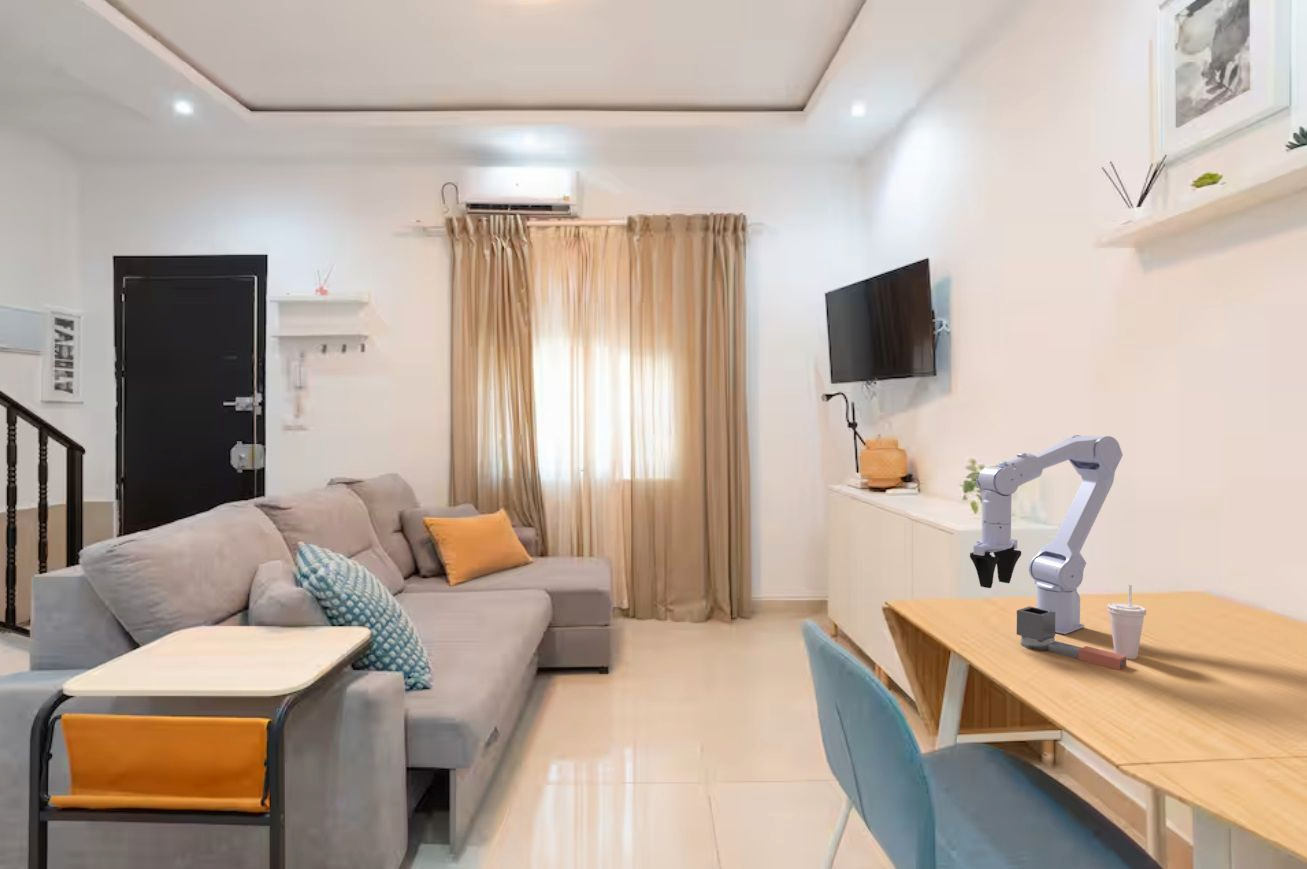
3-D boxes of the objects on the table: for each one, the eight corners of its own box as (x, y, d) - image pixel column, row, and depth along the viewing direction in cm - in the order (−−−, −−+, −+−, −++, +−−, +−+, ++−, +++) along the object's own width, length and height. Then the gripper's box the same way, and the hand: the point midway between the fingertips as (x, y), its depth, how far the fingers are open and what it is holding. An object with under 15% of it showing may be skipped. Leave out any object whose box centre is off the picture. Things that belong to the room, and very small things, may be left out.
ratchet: (1129, 664, 134) (1129, 637, 134) (1115, 671, 131) (1116, 643, 130) (1030, 639, 149) (1030, 615, 149) (1015, 645, 146) (1015, 620, 145)
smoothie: (1151, 662, 135) (1153, 589, 135) (1114, 660, 137) (1116, 588, 136) (1136, 651, 142) (1137, 581, 141) (1100, 649, 143) (1101, 580, 142)
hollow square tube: (1029, 630, 149) (1029, 606, 149) (1055, 636, 144) (1055, 611, 144) (1016, 634, 146) (1016, 610, 146) (1042, 641, 141) (1042, 616, 141)
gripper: (995, 517, 161) (994, 576, 161) (960, 522, 152) (959, 585, 153) (1027, 521, 155) (1026, 582, 156) (992, 527, 147) (991, 592, 147)
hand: (995, 584), depth 154 cm, fingers open, 7 cm apart
